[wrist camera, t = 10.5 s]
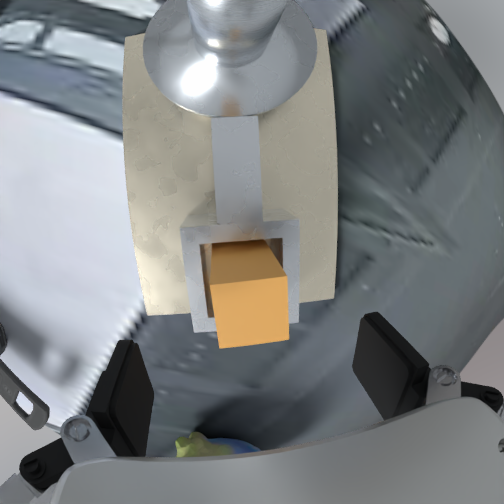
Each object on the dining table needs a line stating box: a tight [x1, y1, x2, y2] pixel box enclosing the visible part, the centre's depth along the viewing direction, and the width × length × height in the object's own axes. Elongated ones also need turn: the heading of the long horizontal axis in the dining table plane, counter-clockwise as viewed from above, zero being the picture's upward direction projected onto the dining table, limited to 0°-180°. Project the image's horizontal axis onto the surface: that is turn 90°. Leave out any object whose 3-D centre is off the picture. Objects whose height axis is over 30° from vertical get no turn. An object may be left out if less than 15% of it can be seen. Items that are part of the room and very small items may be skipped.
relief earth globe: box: [176, 432, 261, 457], centre depth 28 cm, size 14×16×15 cm
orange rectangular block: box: [210, 239, 289, 348], centre depth 20 cm, size 4×4×10 cm
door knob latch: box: [123, 0, 338, 333], centre depth 16 cm, size 28×18×15 cm, turn 3°
